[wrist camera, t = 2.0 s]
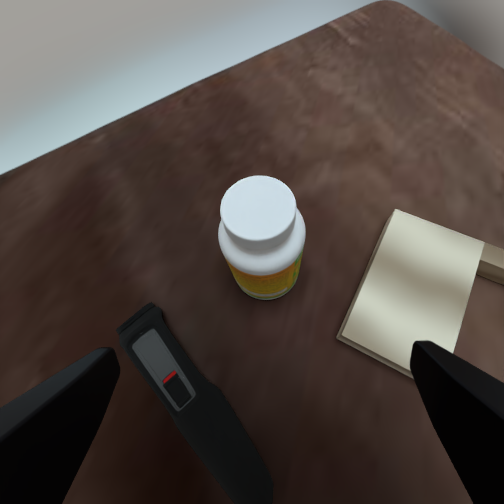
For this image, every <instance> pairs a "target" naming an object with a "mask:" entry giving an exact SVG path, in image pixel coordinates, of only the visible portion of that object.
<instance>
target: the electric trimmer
mask: <svg viewBox="0 0 504 504" xmlns="http://www.w3.org/2000/svg"><path fill="white" fill-rule="evenodd" d="M116 331H117V333H118V334H120V335H119V337H120V345H121V347H122V348H123V349H124V350H125V352H126V353H127V355H128V356H129V357H130V359H131V360H132V362H133V363H134V365H135V366H136V368H137V369H138V370H139V372H140V373H141V374H142V376H143V377H144V378H145V380H146V381H147V383H148V384H149V385H150V387H151V388H152V389H153V391H154V392H155V393H156V395H157V396H158V397H159V399H160V400H161V402H162V403H163V404H164V406H165V408H166V409H167V411H168V412H169V414H170V415H171V417H172V418H173V420H174V422H175V424H176V426H177V428H178V429H179V431H180V432H181V434H182V435H183V436H184V438H185V439H186V441H187V442H188V443H189V445H190V446H191V447H192V449H193V450H194V451H195V453H196V454H197V455H198V457H199V458H200V459H201V460H202V462H203V463H204V464H205V466H206V467H207V468H208V470H209V471H210V472H211V473H212V475H213V476H214V477H215V479H216V480H217V481H218V483H219V484H220V485H221V487H222V488H223V489H224V490H225V492H226V493H227V494H228V496H229V497H230V498H231V500H232V501H233V502H234V503H235V504H272V501H273V481H272V478H271V476H270V473H269V471H268V470H267V468H266V466H265V464H264V462H263V461H262V459H261V457H260V455H259V454H258V452H257V450H256V449H255V447H254V445H253V443H252V442H251V440H250V438H249V437H248V435H247V433H246V432H245V430H244V428H243V426H242V425H241V423H240V421H239V420H238V418H237V416H236V415H235V413H234V411H233V410H232V408H231V406H230V405H229V403H228V401H227V400H226V398H225V397H224V395H223V394H222V392H221V390H220V389H219V388H218V387H217V386H215V385H213V384H211V383H210V382H208V381H207V380H206V379H205V378H204V377H203V376H202V375H201V374H200V373H199V371H198V370H197V369H196V367H195V366H194V365H193V363H192V362H191V360H190V359H189V358H188V356H187V355H186V354H185V352H184V351H183V349H182V348H181V347H180V345H179V344H178V342H177V341H176V340H175V338H174V337H173V335H172V334H171V332H170V331H169V329H168V328H167V326H166V325H165V323H164V321H163V319H162V311H161V309H160V308H159V307H154V304H153V303H152V302H151V303H149V304H147V305H146V306H144V307H143V308H142V309H140V310H139V311H138V312H137V313H135V314H134V315H133V316H132V317H131V318H129V319H128V320H127V321H126V322H124V323H123V324H122V325H121V326H120V327H118V328H117V330H116Z"/></svg>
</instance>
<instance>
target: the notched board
mask: <svg viewBox="0 0 504 504" xmlns="http://www.w3.org/2000/svg"><path fill="white" fill-rule="evenodd" d="M475 274H477V275H480V276H482V277H484V278H487V279H489V280H492V281H494V282H497V283H499V284H502V285H504V249H501V248H498V247H496V246H493V245H490V244H488V243H485V242H482V241H480V240H477V239H474V238H472V237H469V236H466V235H464V234H461V233H458V232H456V231H453V230H450V229H448V228H445V227H442V226H440V225H437V224H434V223H432V222H429V221H426V220H424V219H421V218H418V217H416V216H413V215H410V214H408V213H405V212H402V211H400V210H397V209H395V210H394V212H393V213H392V214H391V216H390V217H389V219H388V220H387V221H386V224H385V226H384V228H383V231H382V233H381V235H380V238H379V240H378V242H377V245H376V247H375V249H374V252H373V254H372V256H371V258H370V261H369V263H368V265H367V268H366V270H365V272H364V275H363V277H362V279H361V282H360V284H359V286H358V289H357V291H356V293H355V295H354V298H353V300H352V302H351V305H350V307H349V309H348V312H347V314H346V316H345V319H344V321H343V323H342V326H341V328H340V330H339V332H338V335H337V337H336V338H337V339H338V340H340V341H342V342H344V343H346V344H348V345H350V346H352V347H354V348H356V349H357V350H359V351H361V352H363V353H365V354H367V355H369V356H371V357H373V358H375V359H376V360H378V361H380V362H382V363H384V364H386V365H388V366H390V367H392V368H393V369H395V370H397V371H399V372H401V373H403V374H405V375H407V376H409V377H411V378H412V379H414V378H413V376H412V373H411V370H410V357H411V351H412V346H413V343H414V342H415V341H417V340H429V341H432V342H434V343H436V344H437V345H439V346H441V347H442V348H444V349H446V350H448V351H449V352H451V353H453V351H454V348H455V344H456V341H457V337H458V334H459V330H460V327H461V323H462V320H463V316H464V313H465V309H466V306H467V302H468V299H469V295H470V292H471V288H472V285H473V281H474V278H475Z"/></svg>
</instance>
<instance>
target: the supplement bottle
mask: <svg viewBox="0 0 504 504" xmlns="http://www.w3.org/2000/svg"><path fill="white" fill-rule="evenodd" d="M220 214H221V222H220V225H219V231H218V238H219V244H220V247H221V250H222V253H223V255H224V257H225V259H226V261H227V263H228V265H229V267H230V269H231V271H232V274H233V276H234V278H235V280H236V282H237V284H238V285H239V287H240V288H241V289H242V290H243V291H244V292H245V293H246V294H248V295H250V296H251V297H254V298H257V299H262V300H270V299H275V298H278V297H281V296H282V295H284V294H286V293H287V292H288V291H289V290H290V289H291V288H292V287H293V286H294V284H295V282H296V280H297V278H298V274H299V269H300V263H301V258H302V253H303V247H304V243H305V224H304V220H303V218H302V215H301V214H300V212H299V210H298V209H297V208H296V201H295V197H294V195H293V193H292V191H291V190H290V189H289V187H288V186H286V185H285V184H284V183H283V182H281V181H279V180H277V179H275V178H272V177H268V176H252V177H248V178H245V179H242V180H240V181H238V182H237V183H235V184H234V185H232V186H231V187H230V188H229V189H228V191H227V192H226V193H225V195H224V197H223V199H222V202H221V207H220Z"/></svg>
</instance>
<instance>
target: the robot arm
mask: <svg viewBox="0 0 504 504" xmlns="http://www.w3.org/2000/svg"><path fill="white" fill-rule="evenodd" d="M410 370H411V373H412V376H413V378H414V381H415V383H416V385H417V388H418V390H419V393H420V395H421V398H422V400H423V403H424V405H425V408H426V410H427V413H428V415H429V418H430V420H431V422H432V424H433V427H434V429H435V431H436V433H437V435H438V437H439V439H440V441H441V442H442V444H443V446H444V448H445V450H446V452H447V454H448V456H449V458H450V460H451V462H452V463H453V465H454V467H455V469H456V471H457V473H458V475H459V477H460V479H461V481H462V483H463V484H464V486H465V488H466V490H467V492H468V494H469V496H470V498H471V500H472V502H473V504H504V383H503V382H501V381H499V380H498V379H496V378H494V377H492V376H491V375H489V374H487V373H485V372H484V371H482V370H480V369H479V368H477V367H475V366H473V365H472V364H470V363H468V362H467V361H465V360H463V359H461V358H460V357H458V356H456V355H455V354H453V353H451V352H449V351H448V350H446V349H444V348H442V347H441V346H439V345H437V344H436V343H434V342H432V341H429V340H417V341H415V342H414V343H413V346H412V351H411V357H410ZM119 375H120V366H119V362H118V359H117V356H116V353H115V350H114V349H113V348H111V347H101V348H98V349H96V350H94V351H93V352H91V353H89V354H88V355H86V356H84V357H83V358H81V359H80V360H78V361H76V362H75V363H73V364H71V365H70V366H68V367H66V368H65V369H63V370H62V371H60V372H58V373H57V374H55V375H53V376H52V377H50V378H48V379H47V380H45V381H44V382H42V383H40V384H39V385H37V386H35V387H34V388H32V389H31V390H29V391H27V392H26V393H24V394H22V395H21V396H19V397H17V398H16V399H14V400H13V401H11V402H9V403H8V404H6V405H4V406H3V407H1V408H0V504H62V503H63V501H64V499H65V496H66V494H67V492H68V490H69V488H70V486H71V484H72V482H73V480H74V478H75V476H76V474H77V472H78V470H79V468H80V466H81V464H82V462H83V460H84V458H85V456H86V454H87V452H88V450H89V448H90V445H91V443H92V441H93V439H94V437H95V435H96V433H97V431H98V429H99V427H100V424H101V422H102V420H103V417H104V415H105V412H106V409H107V407H108V404H109V402H110V399H111V396H112V394H113V391H114V388H115V386H116V383H117V381H118V378H119Z"/></svg>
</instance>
